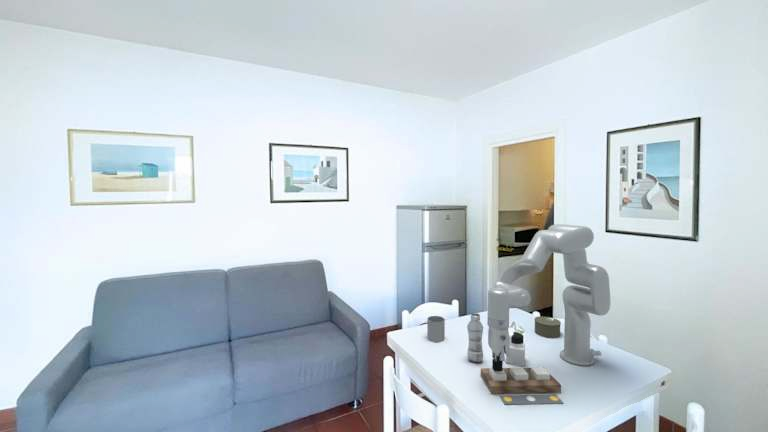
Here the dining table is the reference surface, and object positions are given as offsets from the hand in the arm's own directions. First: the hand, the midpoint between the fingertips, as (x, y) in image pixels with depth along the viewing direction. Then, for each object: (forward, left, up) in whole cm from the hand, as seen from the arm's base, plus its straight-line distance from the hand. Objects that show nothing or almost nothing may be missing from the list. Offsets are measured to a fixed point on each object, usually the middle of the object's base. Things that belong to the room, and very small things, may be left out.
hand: (497, 370), depth 119 cm
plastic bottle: (+3, -18, -6) cm, 19 cm away
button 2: (-16, 0, -4) cm, 17 cm away
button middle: (-8, 0, -4) cm, 9 cm away
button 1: (0, 0, -4) cm, 4 cm away
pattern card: (-8, +9, -6) cm, 14 cm away
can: (-42, -44, -6) cm, 61 cm away
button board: (-8, 0, -6) cm, 10 cm away
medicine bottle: (-14, -17, -6) cm, 23 cm away
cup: (+16, -40, -6) cm, 43 cm away
